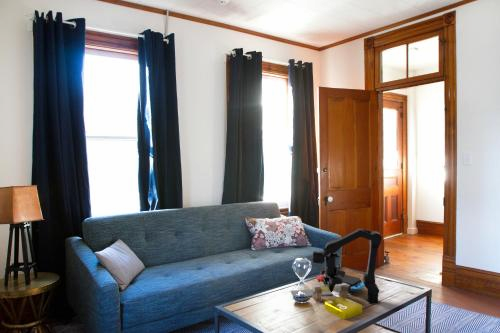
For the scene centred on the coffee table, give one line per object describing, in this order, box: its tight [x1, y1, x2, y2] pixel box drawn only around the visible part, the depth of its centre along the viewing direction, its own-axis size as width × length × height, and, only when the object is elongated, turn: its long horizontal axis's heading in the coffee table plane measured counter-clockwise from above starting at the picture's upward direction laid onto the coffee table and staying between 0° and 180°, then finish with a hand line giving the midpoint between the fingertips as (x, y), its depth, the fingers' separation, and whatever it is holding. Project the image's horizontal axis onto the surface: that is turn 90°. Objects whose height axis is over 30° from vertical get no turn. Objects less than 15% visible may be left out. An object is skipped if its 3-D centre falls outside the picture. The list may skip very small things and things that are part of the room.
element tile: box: [324, 296, 363, 320], centre depth 198 cm, size 15×15×5 cm
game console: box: [316, 273, 366, 295], centre depth 231 cm, size 28×6×15 cm
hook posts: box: [311, 286, 349, 303], centre depth 214 cm, size 6×19×8 cm, turn 101°
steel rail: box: [312, 283, 348, 292], centre depth 214 cm, size 3×20×3 cm, turn 101°
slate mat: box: [290, 288, 334, 298], centre depth 221 cm, size 9×23×1 cm, turn 101°
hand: (330, 291), depth 214 cm, fingers closed on steel rail, 3 cm apart
